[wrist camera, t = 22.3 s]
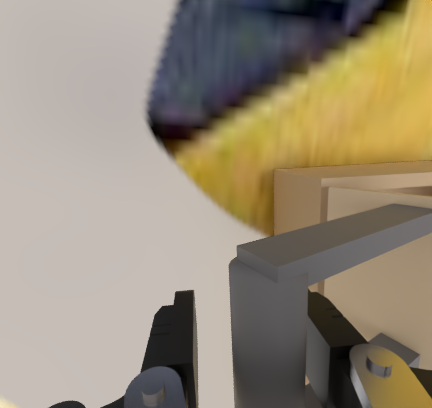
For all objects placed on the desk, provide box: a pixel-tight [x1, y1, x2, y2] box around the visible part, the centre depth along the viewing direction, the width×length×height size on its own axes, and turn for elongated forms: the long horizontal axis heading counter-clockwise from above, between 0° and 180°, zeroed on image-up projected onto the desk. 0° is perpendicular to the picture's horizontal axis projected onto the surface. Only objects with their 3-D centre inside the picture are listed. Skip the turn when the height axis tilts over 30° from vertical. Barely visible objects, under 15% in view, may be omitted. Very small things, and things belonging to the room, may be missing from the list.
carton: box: [274, 160, 432, 386], centre depth 21 cm, size 19×16×9 cm
